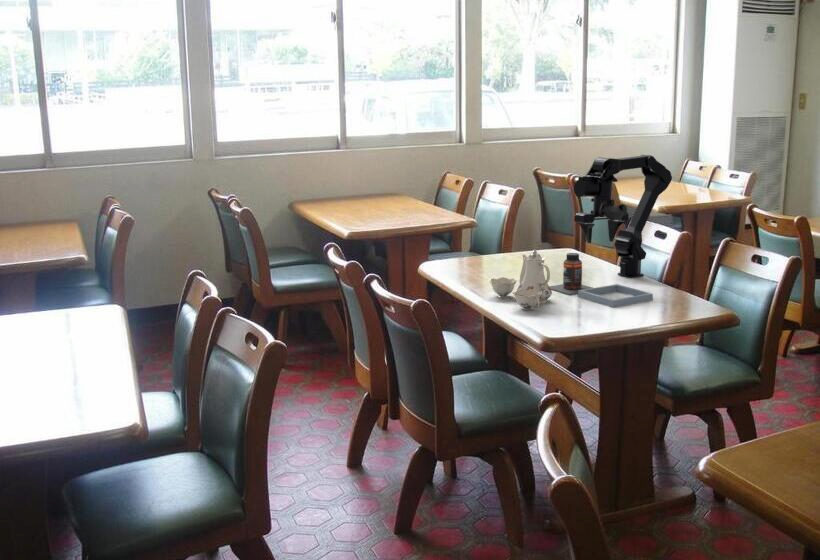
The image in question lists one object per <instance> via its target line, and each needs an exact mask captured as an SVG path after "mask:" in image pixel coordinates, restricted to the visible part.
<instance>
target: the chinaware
mask: <svg viewBox="0 0 820 560" xmlns="http://www.w3.org/2000/svg"><path fill="white" fill-rule="evenodd" d="M521 255H522V266H521V270H520V273H519V285H518V287H517V289H516V290H515V291H514V289H515V286H516V283H517V279H516V278H508V277H504V276H503V277H499V278H490V279H489V282H490V284H491V287H492V290H493V291H494V292H495V293H496V295H497V297H498V298H508V297H510V296H509V295H510V294H511V293H512V295H514V297H515V301H516V303H517V304H518V305H519V306H520V307H521V310H522V311H527V310H528V311H533V310H534V309H538V308H539V306H540V304H546V303H548V302H549V298H550V297H551V296H552V294H553V292H552V291H553V290H551V289H550V287H549V286H550V285H549V284H548V283H549V281H550V278H551V271H550V268H549V266H548V265H547V264H546V263H545V260H546V257H543V256H541V255H540V253H538V250H537V249H533V251H532V253H530V254H529V255H528V256H527V255H526V254H521ZM544 268H545V270H546V277H545V272H544ZM536 305H537V306H536Z"/></svg>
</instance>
